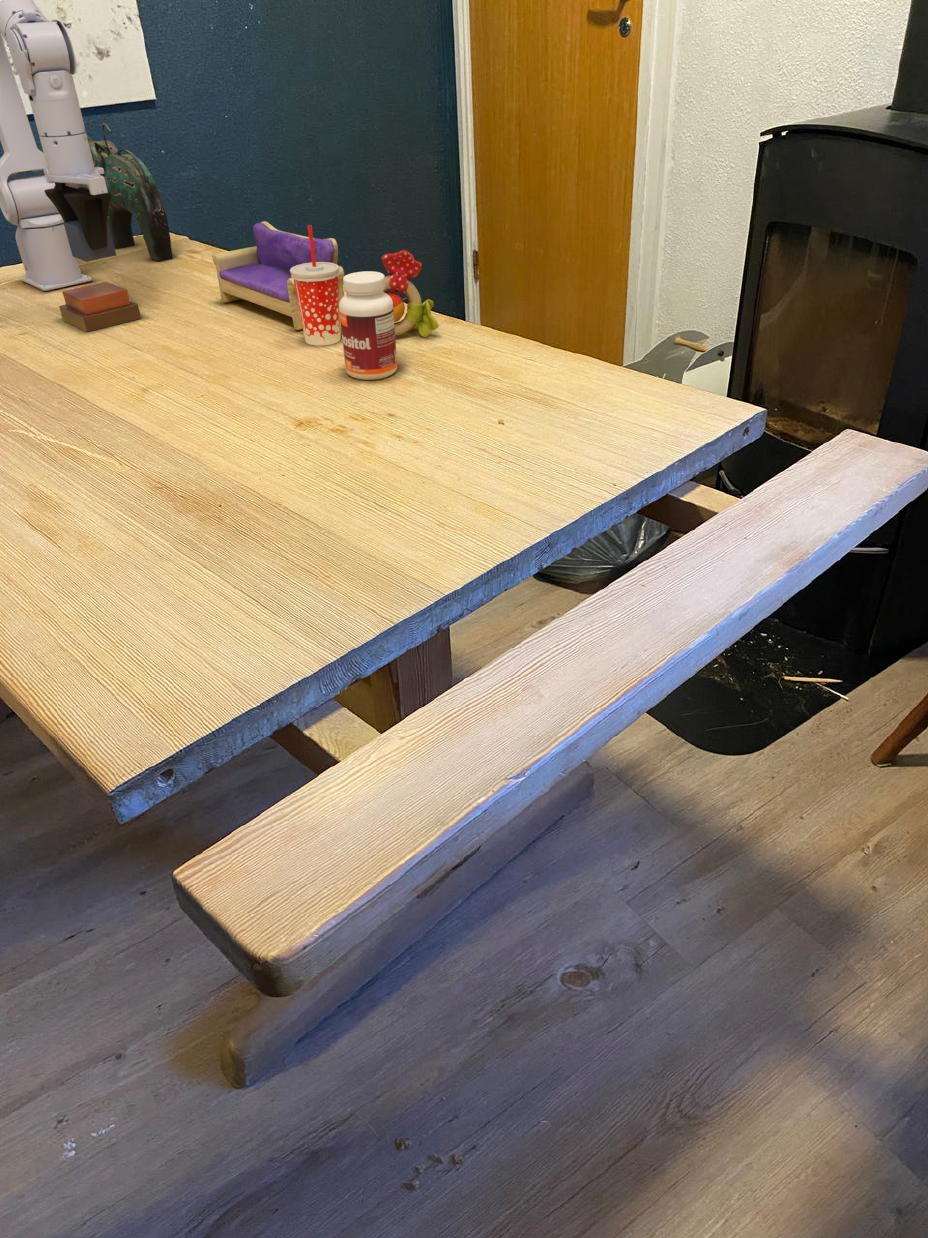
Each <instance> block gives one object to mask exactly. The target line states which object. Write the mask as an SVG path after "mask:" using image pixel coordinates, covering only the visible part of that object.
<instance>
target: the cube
mask: <svg viewBox="0 0 928 1238" xmlns="http://www.w3.org/2000/svg"><path fill="white" fill-rule="evenodd" d="M64 227H65V230H66V234H67V238H68V241H69V245H70V249H71V253H72V256H73V257H75V258H77V259H78V260H80V261H83V262H86V263H87V262H88V263H89V262H92V261H97V260H101V259H106V258H110V257H115V256H117V252H116V248H114V243H113V239H112V235H111V231H110V227H109V223H108V221H107V247H106V248H101V249H96V250H92V249H91V248H90V246H89V244H88V242H87V240H86V238H85V235H84V232H83V230H82V227H81V224H80V222H79V220H76V221H70V222H65V223H64Z"/></svg>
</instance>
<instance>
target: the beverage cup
mask: <svg viewBox="0 0 928 1238" xmlns="http://www.w3.org/2000/svg"><path fill="white" fill-rule="evenodd" d="M307 230H308V231H307V233H308V237H309V242H310V250H311V258H312V263H304V264H300V265H296V266H294V267H292V268H291V269H290V273H291V277H292V278H293V279H294V285H295V290H296V295H297V300H298V305H299V311H300V316H301V321H302V326H303V329H302V330H303V336H304V341H305V343H306V344H307V345H310V346H321V347H322V346H330V345H334V344H336V343H338V342H340V341H341V339H342V331H341V320H340V310H339V289H338V276H339V266H340V265H338V263H337V264H334V263H328V262H316V259H315V251H314V242H313V238H314V235H313V225H312V224H307Z"/></svg>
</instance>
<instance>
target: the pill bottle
mask: <svg viewBox="0 0 928 1238" xmlns="http://www.w3.org/2000/svg"><path fill="white" fill-rule="evenodd" d="M385 277H386V276H385V274H384V273H382V272H381V271H380V272H379V271H372V270H371V271H370V270H369V271H368V270H367V271H357V272H352V273H348V274H346V275H344V277H343V278H342V280H343V289H344V293H346V294H344V297H343V298H342V299H341V300H340V303H339V310H340V331H341V339H342V348H343V357H344V366H345V367H344V369H345V372H346V374H347V375H349V377H351V378H354V379H357V380H364V381H365V380H368V381H369V380H370V381H371V380H373V381H374V380H380V379H381V380H382V379H385V378H388V377H390V376H391V375H393V374H395V372H396V371H397V369H398V357H397V342H396V335H395V325H394V323H395V322H394V310H393V301H392V299H391V297H390V296H389V295H388V294H386V293H387V292H383V290H384V289H385V286H386V285H385Z"/></svg>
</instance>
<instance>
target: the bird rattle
mask: <svg viewBox="0 0 928 1238" xmlns="http://www.w3.org/2000/svg"><path fill="white" fill-rule="evenodd" d="M381 262H382V263H383V266H384V268H385V269H386V272H387V274H388V275H386V276H384V277H385V285H386V286H385V289H384V290H383V292H384V293H386V294H388V295H389V296H390V297H391V299H392V301H393V310H394V325H395V336H398V335H403V334H405V333H406V332H408V331H409V332H411V331H412V330H414V329H415V328H417V327H418V328H417V329H418V333H419V335H420V336H421V337H423V338H428V337H429V335H430V334H431V331H436V330H437V329H438V327H439V323H438V321H437V320H436V319H435V317H434V316H433V314H432V309H433V308H434V305H435V304H434V301H433V300H432V299H426V300H424V302H422V298H421V294H420V293H419V291H418V289H417V287H416V286H415V284H413V282H412V281H410V280H409V279H410V278H412V279H413V278H416V277H417V276H419V274H420V272H421V270H422V269H423V268H422V267H423V264H422V262H420V261H418V260H416V259H415V258H414V255H413V254H412V253H410V252H409V251H408V250H406V249H403V250H400V251H398V252H395V253H385V254H383V255H382V256H381ZM394 291H395V292H394ZM399 293H400V294H404V295H405V297H403V298H402V297H401V295H399ZM405 300H408V303H407V305H405V302H404V301H405ZM405 309H406V313H405ZM403 316H404V318H403ZM402 318H403V319H402Z"/></svg>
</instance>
